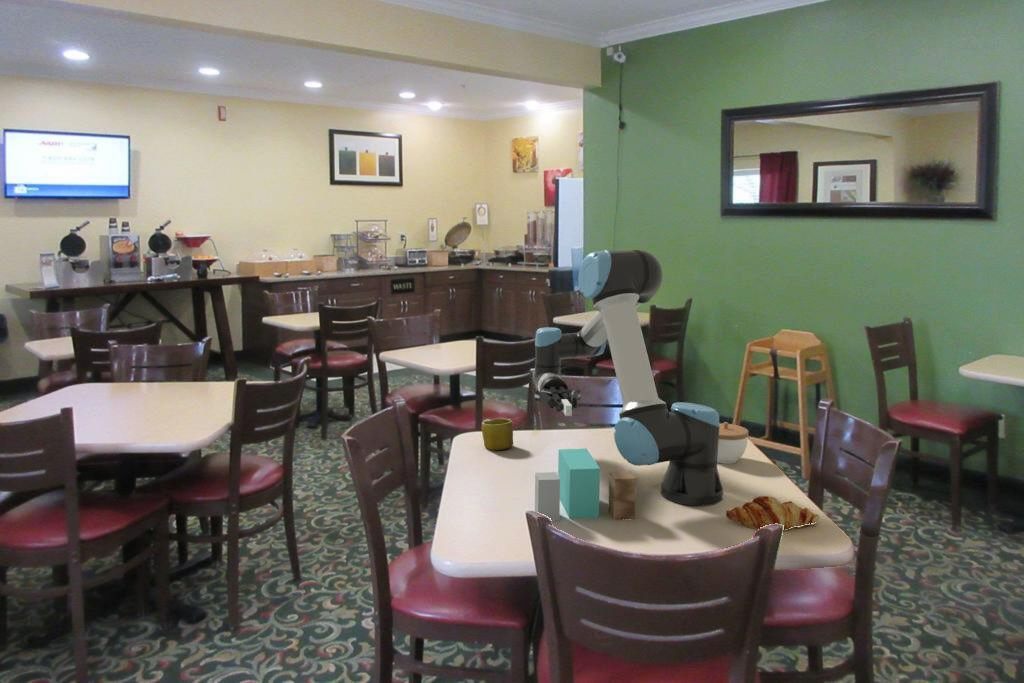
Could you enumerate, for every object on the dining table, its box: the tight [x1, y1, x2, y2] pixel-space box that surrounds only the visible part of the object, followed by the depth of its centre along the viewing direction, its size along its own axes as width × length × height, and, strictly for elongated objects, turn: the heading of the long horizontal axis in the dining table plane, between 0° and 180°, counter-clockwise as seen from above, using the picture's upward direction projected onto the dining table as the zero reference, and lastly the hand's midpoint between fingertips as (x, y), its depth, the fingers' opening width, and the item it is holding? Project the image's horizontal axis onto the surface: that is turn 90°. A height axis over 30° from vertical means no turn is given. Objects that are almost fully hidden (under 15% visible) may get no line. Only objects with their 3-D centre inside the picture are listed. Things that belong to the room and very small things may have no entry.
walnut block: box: [607, 470, 637, 521], centre depth 180 cm, size 5×5×10 cm
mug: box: [481, 418, 514, 452], centre depth 232 cm, size 12×10×10 cm
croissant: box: [725, 495, 821, 531], centre depth 176 cm, size 21×10×8 cm, turn 91°
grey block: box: [534, 471, 561, 522], centre depth 178 cm, size 5×5×10 cm
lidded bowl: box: [717, 421, 750, 465], centre depth 220 cm, size 13×13×11 cm
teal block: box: [557, 448, 601, 520], centre depth 185 cm, size 7×15×12 cm, turn 7°
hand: (568, 410), depth 195 cm, fingers closed
